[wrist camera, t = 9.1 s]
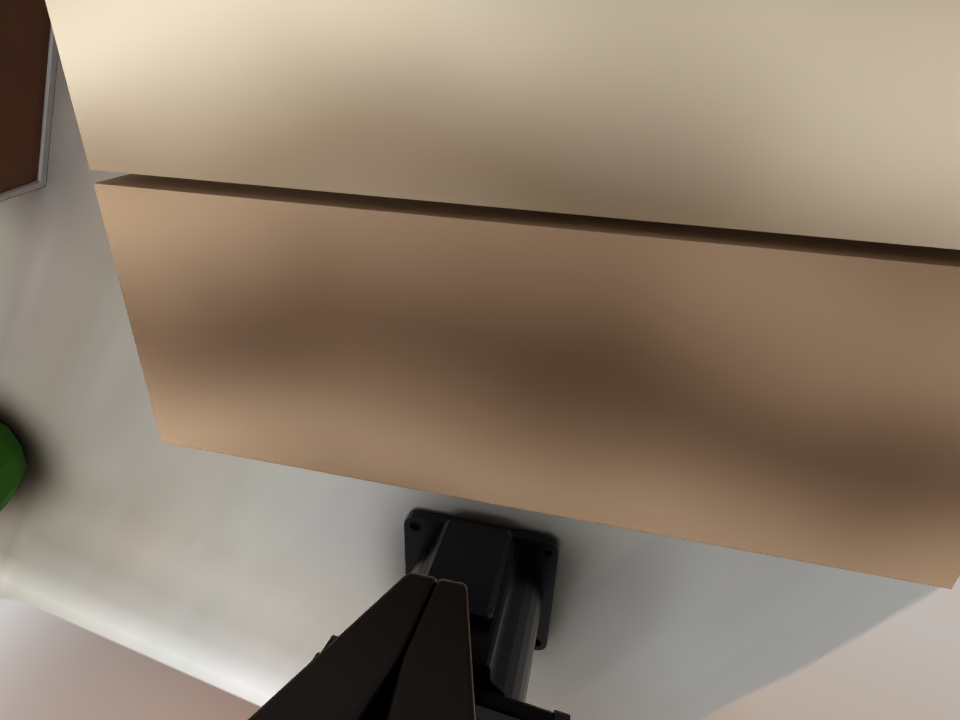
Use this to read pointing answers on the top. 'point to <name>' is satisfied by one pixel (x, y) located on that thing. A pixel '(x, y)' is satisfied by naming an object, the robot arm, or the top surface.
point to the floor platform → (561, 363)
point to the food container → (25, 95)
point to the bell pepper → (9, 465)
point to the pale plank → (542, 105)
